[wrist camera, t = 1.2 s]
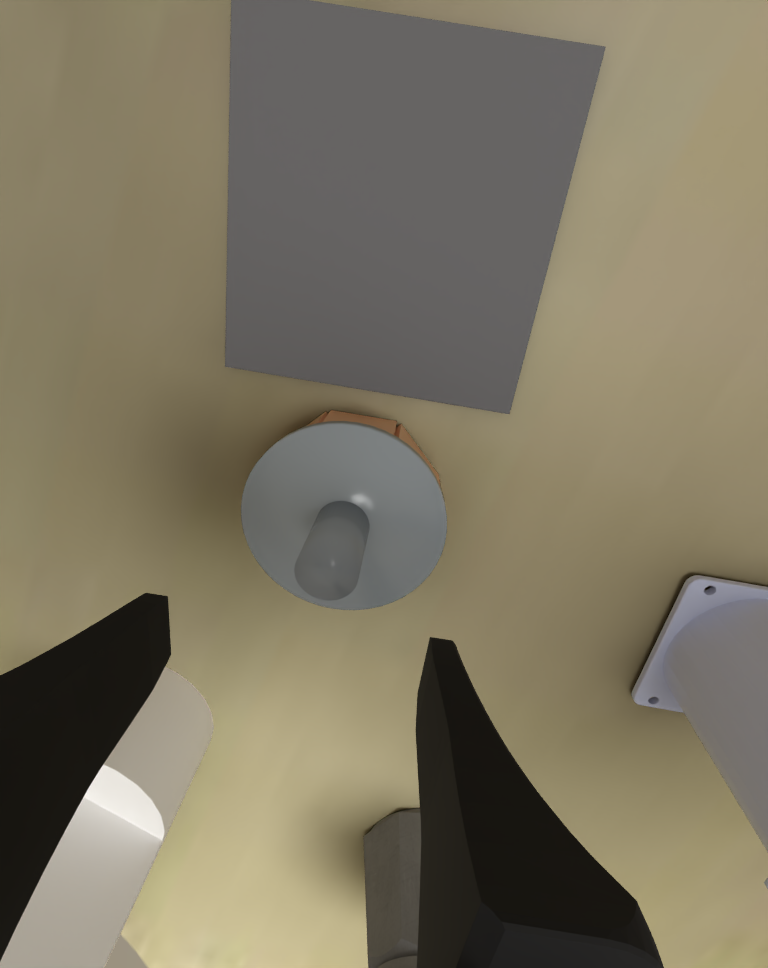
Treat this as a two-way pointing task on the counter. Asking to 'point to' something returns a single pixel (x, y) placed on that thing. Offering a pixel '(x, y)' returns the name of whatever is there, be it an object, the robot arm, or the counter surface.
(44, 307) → the counter surface
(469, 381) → the mat
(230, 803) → the counter surface
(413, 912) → the coffeepot
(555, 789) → the counter surface
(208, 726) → the cylinder with rectangular tab
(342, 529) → the lid
